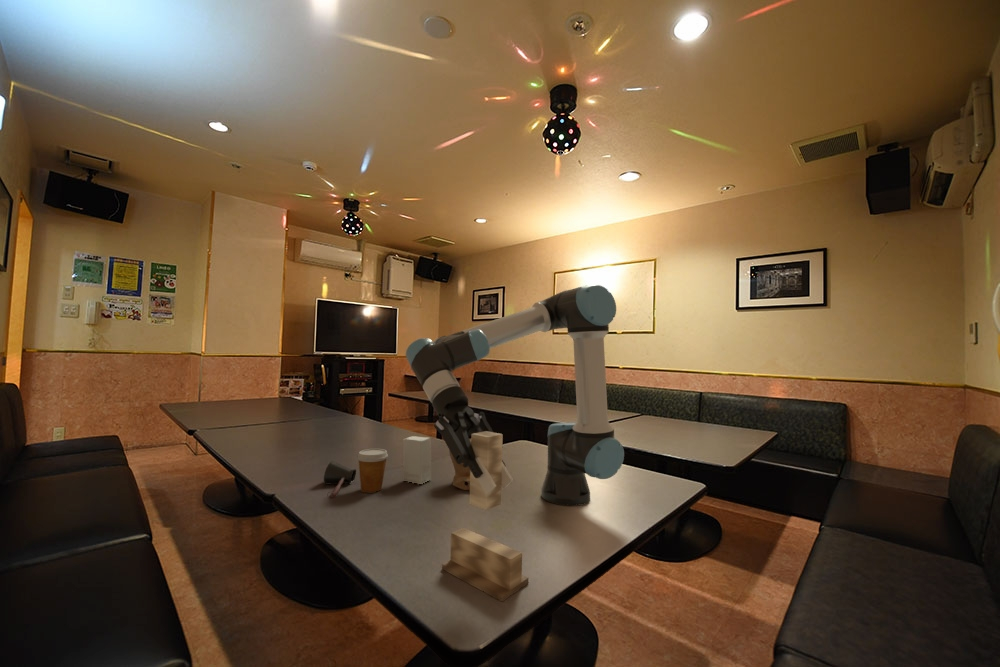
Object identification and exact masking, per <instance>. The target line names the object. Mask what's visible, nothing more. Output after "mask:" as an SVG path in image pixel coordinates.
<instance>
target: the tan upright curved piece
mask: <svg viewBox="0 0 1000 667" xmlns="http://www.w3.org/2000/svg"><path fill="white" fill-rule="evenodd" d="M469 440H470V443H471V438H469ZM448 450H449V449H448ZM459 455H460V454H459ZM449 456H450V459H451V462H452V465H453V468H454V471H455V472H454V476H453V480H452V485H453V486H454V487H456V488H458V489H460V490H464V491H470V468H469V467H468V466H467V468H465V467H463V464H464V463H461V464H457V462H456V461H455V459H454V457H453V455H452V453H451V452H450V450H449Z"/></svg>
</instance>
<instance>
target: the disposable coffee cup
mask: <svg viewBox="0 0 1000 667" xmlns="http://www.w3.org/2000/svg"><path fill="white" fill-rule="evenodd" d="M388 457H389V454H388V450H386V449H383V448H368V449H367V448H366V449H363V450H360V451H359V452H358V455H357V456H356V458H357V460H358V469H359V481H360V482H359V483H360V491H361V490H362V491H363V492H362V491H361V492H362V493H365V492H373V493H377V492H376V491H378V492H380V491H381V490H382V487H383V482H384V475H385V469H386V463H387V459H388ZM379 490H380V491H379Z"/></svg>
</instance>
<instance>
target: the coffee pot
mask: <svg viewBox="0 0 1000 667" xmlns="http://www.w3.org/2000/svg"><path fill="white" fill-rule="evenodd" d="M356 476H357V469H356V468H353V469H351V468H349V467H347V466H344V465H343V464H340V463H339V462H337V461H334V460H331V461H330V462H329V463H328V464H327V466H326V468H325V472H324V474H323V483H324V484H325V485H327V484H326V483H337V484H336V486H335V487H334V488H333V490H332V491H331V492H330V491H328V492H327V494H326V495H327V497H329V498H331V499H334V498H336V497H337V496H338V494H339V492H340V490H341V486H342V485H343V484H344V483H346V482H347V484H349V483H351V481H353V480H354V481H355V479H356ZM329 493H330V496H329Z"/></svg>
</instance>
